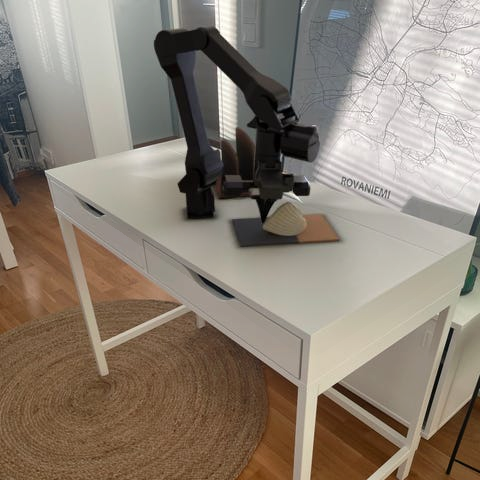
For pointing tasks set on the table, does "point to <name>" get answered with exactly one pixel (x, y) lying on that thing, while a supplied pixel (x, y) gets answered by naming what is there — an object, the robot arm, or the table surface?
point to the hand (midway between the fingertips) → (262, 222)
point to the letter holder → (237, 160)
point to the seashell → (286, 220)
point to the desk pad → (255, 235)
